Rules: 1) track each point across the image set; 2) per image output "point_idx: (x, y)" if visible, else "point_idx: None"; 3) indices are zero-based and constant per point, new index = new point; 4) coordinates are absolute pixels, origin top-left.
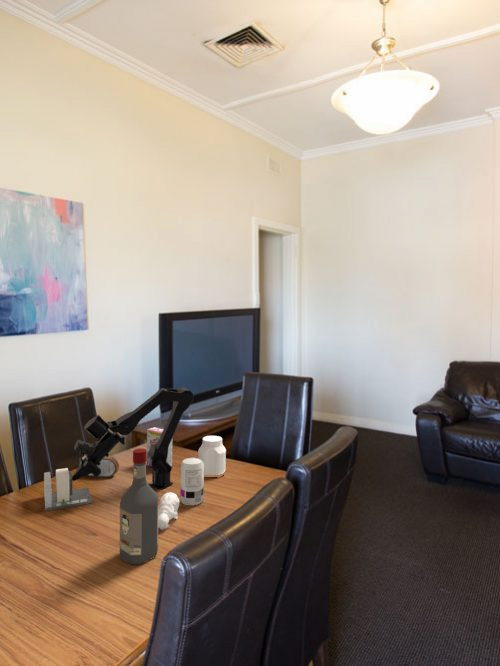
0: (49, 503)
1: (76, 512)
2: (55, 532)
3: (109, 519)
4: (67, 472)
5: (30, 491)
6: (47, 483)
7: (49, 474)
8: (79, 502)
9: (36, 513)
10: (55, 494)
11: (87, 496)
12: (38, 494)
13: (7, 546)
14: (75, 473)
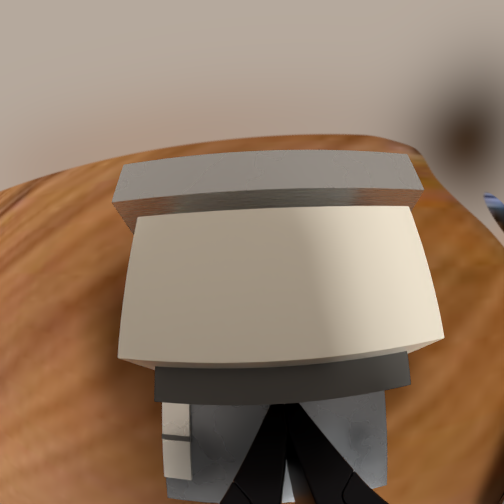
0: None
1: (95, 399)
2: (5, 293)
3: (11, 478)
4: (265, 344)
5: (424, 200)
6: (141, 175)
7: (364, 181)
8: (164, 434)
9: None
10: None
11: None
12: None
13: (27, 184)
14: (273, 453)
